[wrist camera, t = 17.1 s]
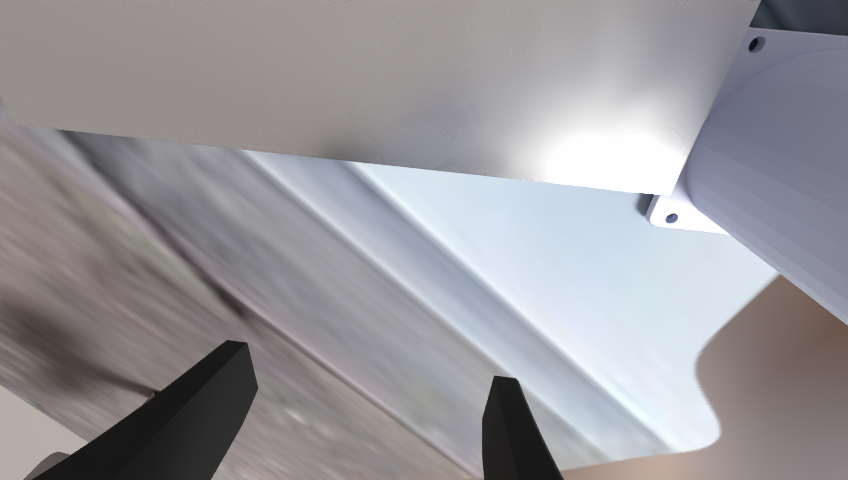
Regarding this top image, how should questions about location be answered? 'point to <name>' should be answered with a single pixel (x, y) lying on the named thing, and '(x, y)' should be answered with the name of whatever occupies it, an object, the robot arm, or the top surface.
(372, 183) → the top surface
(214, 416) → the robot arm
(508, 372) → the top surface
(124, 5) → the grey long block
